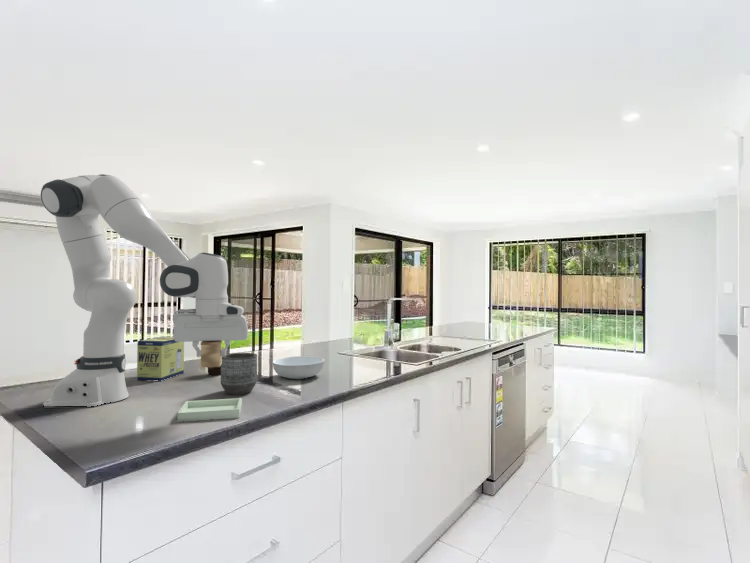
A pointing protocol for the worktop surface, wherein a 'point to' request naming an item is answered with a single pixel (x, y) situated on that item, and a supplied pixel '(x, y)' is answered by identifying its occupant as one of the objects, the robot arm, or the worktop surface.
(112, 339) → the robot arm
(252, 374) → the planter
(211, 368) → the coffee mug
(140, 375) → the protein box
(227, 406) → the tray
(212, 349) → the box
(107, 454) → the worktop surface
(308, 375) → the serving bowl
